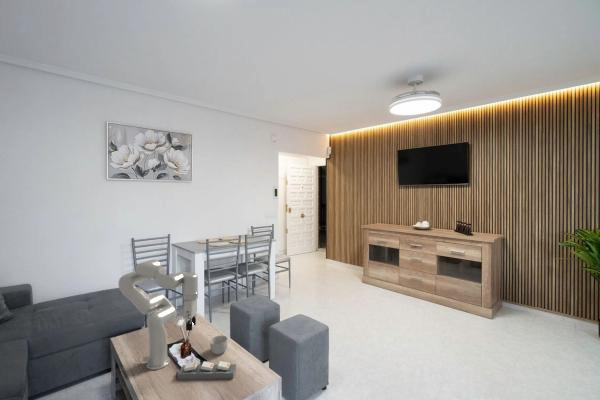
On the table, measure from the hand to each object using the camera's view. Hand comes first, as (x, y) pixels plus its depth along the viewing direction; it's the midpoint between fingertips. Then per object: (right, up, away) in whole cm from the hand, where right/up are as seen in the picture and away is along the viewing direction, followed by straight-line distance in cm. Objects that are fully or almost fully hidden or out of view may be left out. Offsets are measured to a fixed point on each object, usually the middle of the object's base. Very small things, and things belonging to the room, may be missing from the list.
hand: (191, 327), depth 161 cm
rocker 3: (+19, -21, -2) cm, 29 cm away
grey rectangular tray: (+10, -26, -2) cm, 28 cm away
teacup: (+10, -25, +22) cm, 35 cm away
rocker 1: (+1, -21, -2) cm, 21 cm away
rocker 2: (+10, -21, -2) cm, 24 cm away
